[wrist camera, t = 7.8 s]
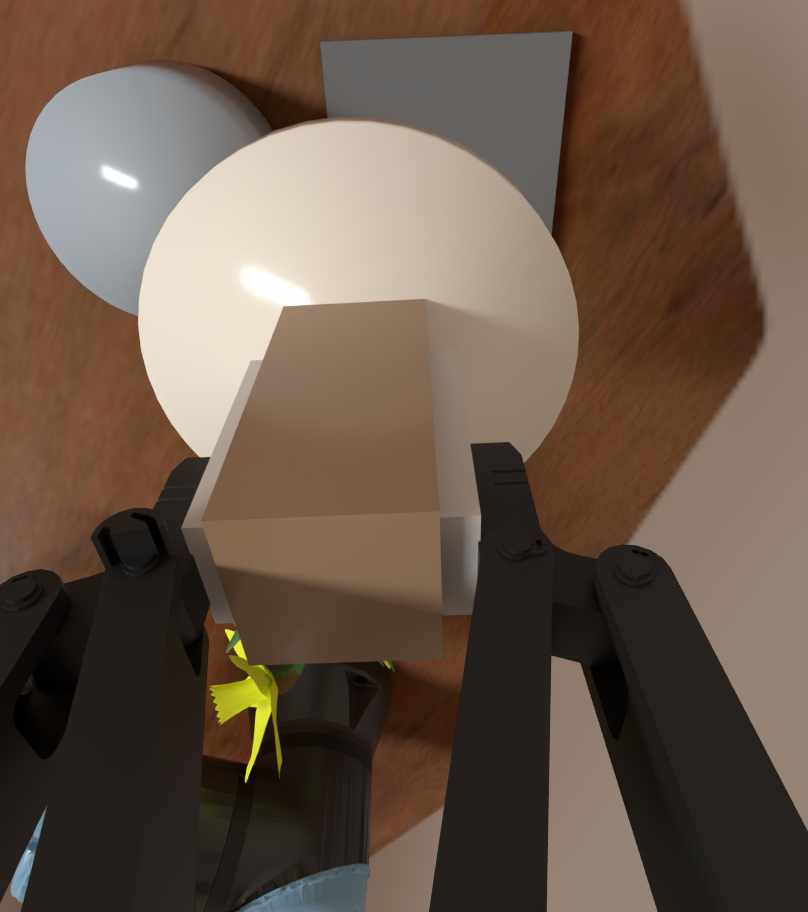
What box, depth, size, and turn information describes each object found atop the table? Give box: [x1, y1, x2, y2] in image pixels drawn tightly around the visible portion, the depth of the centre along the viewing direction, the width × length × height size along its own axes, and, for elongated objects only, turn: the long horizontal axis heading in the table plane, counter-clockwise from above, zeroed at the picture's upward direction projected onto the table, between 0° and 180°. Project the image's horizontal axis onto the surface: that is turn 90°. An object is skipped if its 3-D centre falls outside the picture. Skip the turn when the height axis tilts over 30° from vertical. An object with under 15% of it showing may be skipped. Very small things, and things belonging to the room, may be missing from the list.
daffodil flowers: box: [210, 623, 395, 783], centre depth 44 cm, size 17×15×35 cm
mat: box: [320, 31, 573, 235], centre depth 37 cm, size 15×13×1 cm
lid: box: [138, 117, 579, 666], centre depth 16 cm, size 13×13×10 cm
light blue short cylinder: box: [26, 60, 273, 316], centre depth 34 cm, size 12×12×7 cm
